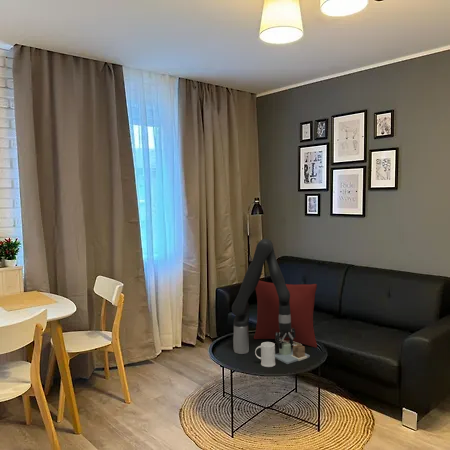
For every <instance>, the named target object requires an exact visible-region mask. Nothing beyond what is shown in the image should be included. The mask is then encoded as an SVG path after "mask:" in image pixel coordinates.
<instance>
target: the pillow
mask: <svg viewBox="0 0 450 450" xmlns="http://www.w3.org/2000/svg"><path fill="white" fill-rule="evenodd" d="M285 284H286V286H287V289H288V290H289V292H290V313H291V328H294V329H295V336H296V337H295V338H293V343H297V344H298V343H299V344H301V345H302V344H303V345H305V346H309V347H312V348H315V349H316V348H318V342H317V339H316V336H315V329H314V309H315V297H316V292H317V289H318V288H317V287H318V283H312V284H291V283H289V284H288V283H285ZM255 294H256V301H257V303H256V304H257V309H256V310H257V312H256V315H257V316H256V317H257V318H256V324H255V325H256V327H255V333H254V335H253V339H254V340H269V339H270V340H275V333H276V332H279V331H280V329H279V298H278V294H277V291H276V288H275V286H274V284H273V282H269V281H264V280H261V279H260V280H259V282H258V284H257V286H256V288H255ZM290 334H291V333H290ZM281 338H282V337H281ZM289 339H290V338H289V337H286V338H284V340H283V341H285V342H286V341H287V342H288V341H289ZM280 340H281V339H280Z"/></svg>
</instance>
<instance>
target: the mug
mask: <svg viewBox="0 0 450 450" xmlns="http://www.w3.org/2000/svg"><path fill="white" fill-rule="evenodd" d="M275 344H276V343H274V342H271V341H264V342H261V344H260V345H258V346H257V347H256V348H255V351H254V353H255V356H256V358H257V359H259V360H260V361H261V362H260V365H261V366H262V367H265V368H272V367H274V366H276V358H275V354H276V345H275ZM258 349H260V356H259V355H257V350H258Z"/></svg>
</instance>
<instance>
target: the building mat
mask: <svg viewBox="0 0 450 450" xmlns="http://www.w3.org/2000/svg"><path fill="white" fill-rule="evenodd" d="M310 356H311V355H310V354H308V353H306V352H305V356H304V357H301V358H297V357H295V356H293V348H291V354H289V355H285V356H284V355H282V354H280V353H279V352H278V353H275V360H278V361H281V362H282V363H284V364H286V365H289V364H292V363H295V362H300V361H303V360H305V359H308V358H310Z"/></svg>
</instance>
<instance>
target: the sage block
mask: <svg viewBox="0 0 450 450" xmlns="http://www.w3.org/2000/svg"><path fill="white" fill-rule="evenodd" d="M281 343H282V349H280V348H279V347H278V353H280V354H282V355H284V356H285V355H289V354H291V349H292V346H291V344H289V342H288V341H287V342H286V341H284V342H281Z"/></svg>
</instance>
